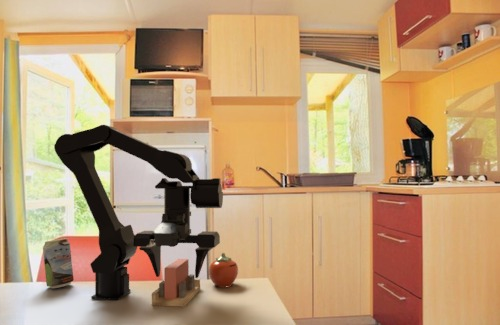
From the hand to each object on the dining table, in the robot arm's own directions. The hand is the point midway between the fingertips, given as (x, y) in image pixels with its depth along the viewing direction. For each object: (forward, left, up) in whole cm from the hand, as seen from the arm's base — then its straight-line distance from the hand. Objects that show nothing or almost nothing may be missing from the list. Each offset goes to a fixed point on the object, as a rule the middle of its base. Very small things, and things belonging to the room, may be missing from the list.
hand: (177, 277), depth 85 cm
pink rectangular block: (0, 0, -3) cm, 3 cm away
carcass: (0, 0, -4) cm, 4 cm away
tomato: (+9, +10, -5) cm, 14 cm away
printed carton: (-32, +4, -5) cm, 33 cm away
